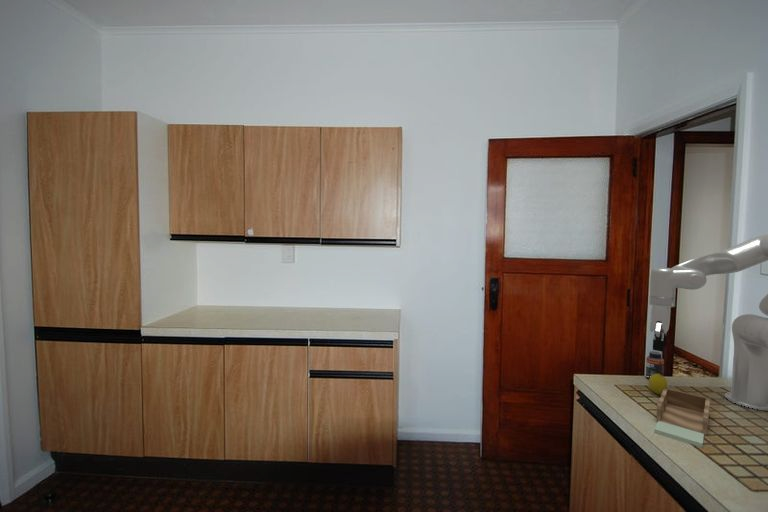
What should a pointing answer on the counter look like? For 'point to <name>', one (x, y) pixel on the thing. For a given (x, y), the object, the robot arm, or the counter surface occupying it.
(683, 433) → the panel
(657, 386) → the lemon
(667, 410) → the crate
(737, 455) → the counter surface
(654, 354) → the supplement bottle
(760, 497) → the counter surface
